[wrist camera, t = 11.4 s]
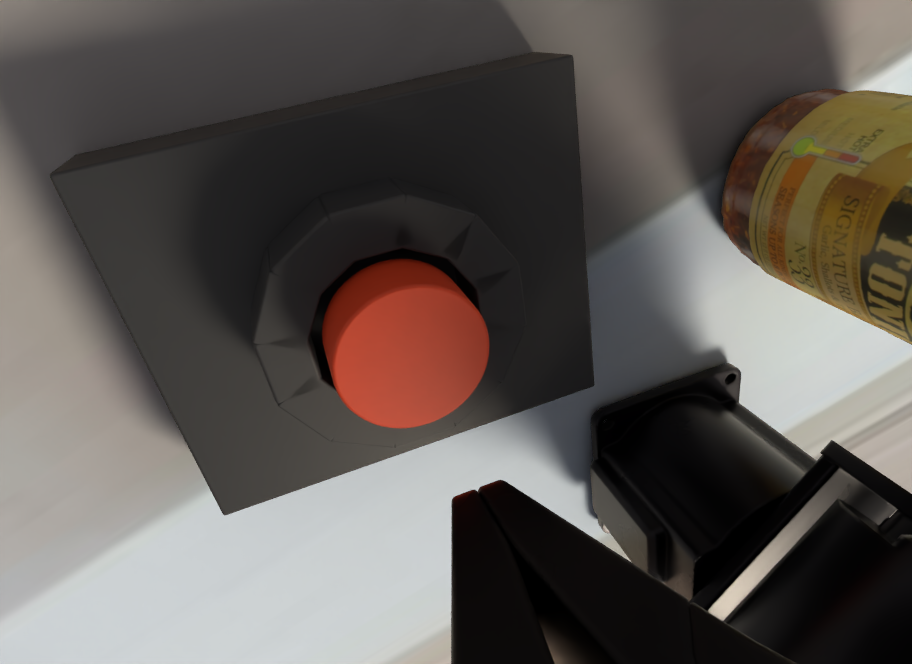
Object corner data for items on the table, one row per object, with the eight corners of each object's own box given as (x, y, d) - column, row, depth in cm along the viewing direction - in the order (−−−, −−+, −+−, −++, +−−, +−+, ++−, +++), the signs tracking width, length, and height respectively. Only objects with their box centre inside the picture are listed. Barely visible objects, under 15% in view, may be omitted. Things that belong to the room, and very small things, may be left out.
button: (453, 239, 14) (477, 264, 13) (475, 365, 16) (500, 400, 14) (302, 282, 13) (310, 313, 12) (343, 409, 15) (355, 450, 14)
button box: (535, 51, 16) (613, 56, 13) (564, 355, 21) (626, 416, 18) (72, 155, 14) (19, 195, 11) (225, 469, 19) (222, 564, 16)
